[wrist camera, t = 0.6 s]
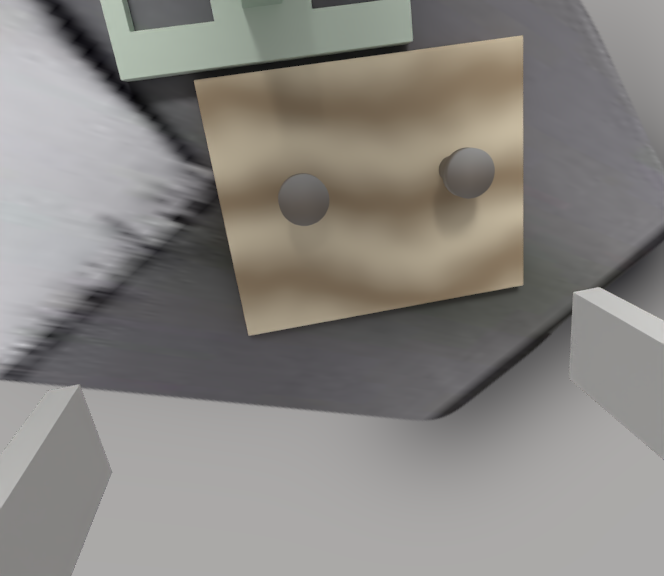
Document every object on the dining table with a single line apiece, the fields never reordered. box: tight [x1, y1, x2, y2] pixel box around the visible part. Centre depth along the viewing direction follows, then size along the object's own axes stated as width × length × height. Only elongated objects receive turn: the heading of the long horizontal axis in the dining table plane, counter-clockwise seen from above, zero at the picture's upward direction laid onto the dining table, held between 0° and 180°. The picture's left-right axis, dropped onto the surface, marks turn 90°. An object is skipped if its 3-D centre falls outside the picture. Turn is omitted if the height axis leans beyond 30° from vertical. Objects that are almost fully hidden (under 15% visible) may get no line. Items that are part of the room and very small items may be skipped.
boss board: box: [194, 35, 523, 336], centre depth 34 cm, size 18×22×5 cm
